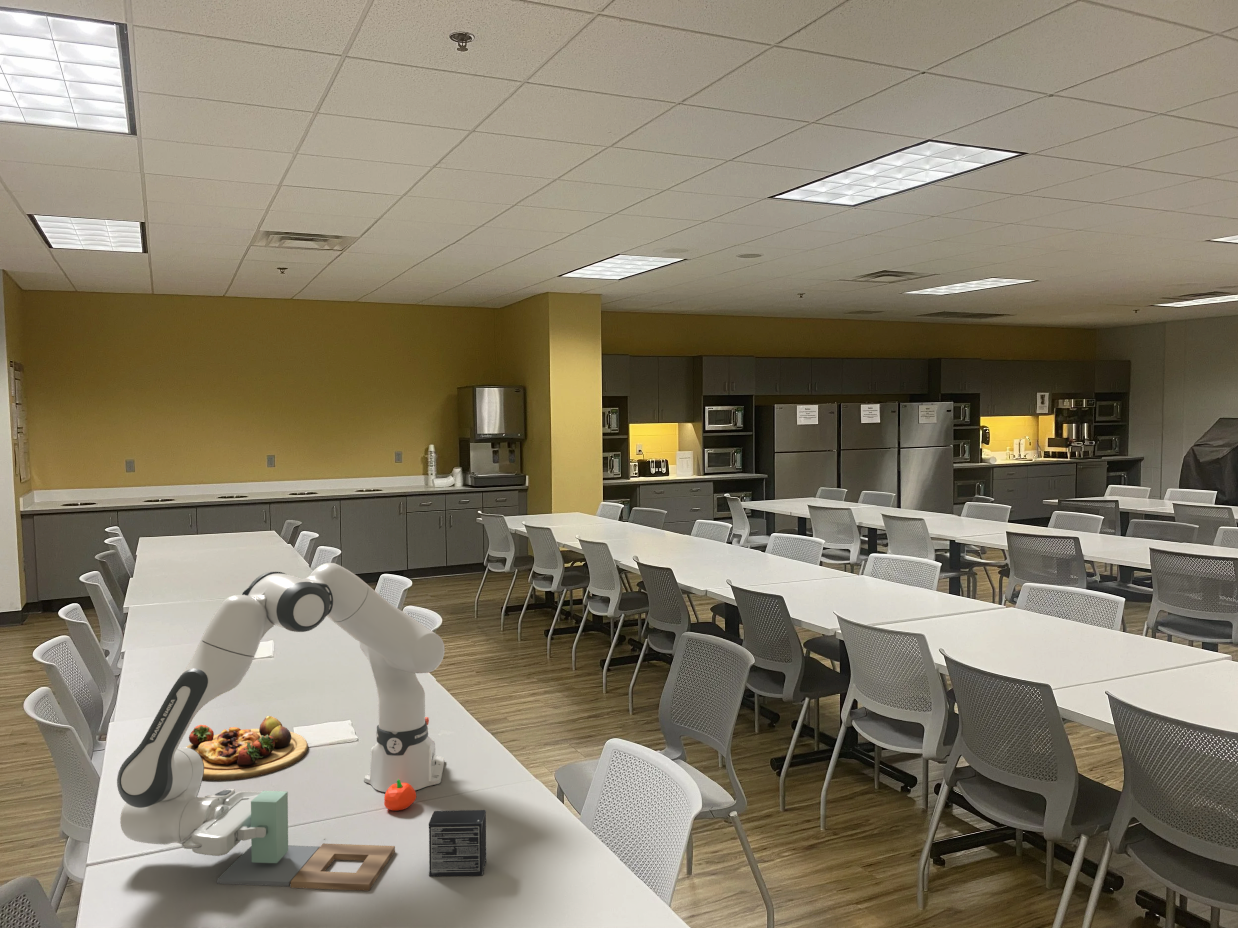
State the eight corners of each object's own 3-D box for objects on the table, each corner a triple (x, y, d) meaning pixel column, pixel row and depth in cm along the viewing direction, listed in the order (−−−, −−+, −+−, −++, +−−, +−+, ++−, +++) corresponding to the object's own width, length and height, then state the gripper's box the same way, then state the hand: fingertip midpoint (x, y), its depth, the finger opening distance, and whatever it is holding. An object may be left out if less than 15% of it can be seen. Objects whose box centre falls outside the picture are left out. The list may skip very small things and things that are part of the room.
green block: (263, 849, 173) (263, 790, 173) (288, 850, 173) (287, 791, 173) (251, 862, 168) (250, 801, 168) (276, 863, 168) (276, 802, 168)
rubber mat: (253, 847, 178) (253, 843, 178) (319, 850, 177) (319, 846, 177) (217, 883, 164) (217, 878, 164) (289, 885, 163) (289, 881, 163)
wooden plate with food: (147, 767, 221) (146, 735, 221) (252, 727, 250) (251, 699, 249) (232, 794, 207) (231, 760, 206) (333, 749, 235) (333, 719, 234)
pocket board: (323, 848, 178) (323, 843, 178) (394, 851, 177) (394, 845, 177) (290, 887, 163) (290, 881, 163) (368, 890, 162) (368, 884, 162)
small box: (487, 859, 174) (487, 807, 173) (483, 876, 167) (483, 822, 167) (434, 860, 173) (433, 808, 173) (428, 877, 167) (427, 823, 167)
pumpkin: (385, 819, 193) (381, 791, 192) (385, 804, 201) (381, 777, 200) (418, 811, 195) (414, 783, 194) (416, 796, 202) (413, 770, 202)
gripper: (175, 829, 161) (248, 832, 160) (231, 784, 181) (296, 786, 180) (176, 863, 161) (248, 866, 160) (232, 814, 181) (296, 816, 181)
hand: (274, 823), depth 170 cm, fingers closed on green block, 5 cm apart
